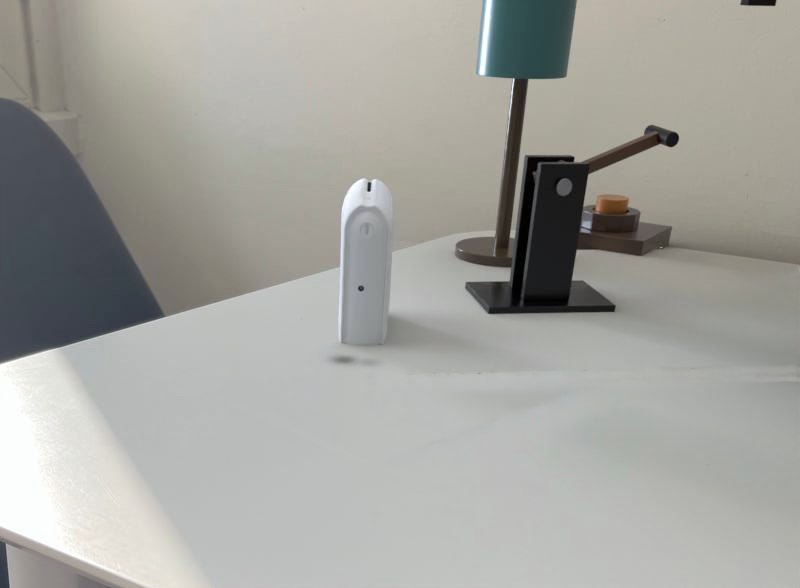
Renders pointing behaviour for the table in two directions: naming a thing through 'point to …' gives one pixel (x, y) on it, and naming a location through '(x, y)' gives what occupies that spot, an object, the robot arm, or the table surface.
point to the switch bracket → (545, 245)
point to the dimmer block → (620, 232)
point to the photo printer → (365, 263)
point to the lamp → (517, 93)
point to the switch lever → (631, 148)
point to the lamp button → (611, 204)
